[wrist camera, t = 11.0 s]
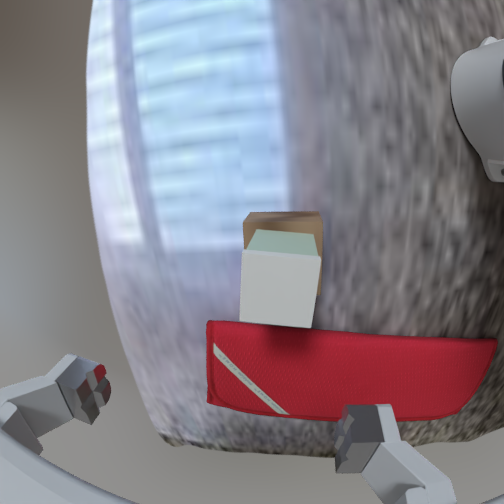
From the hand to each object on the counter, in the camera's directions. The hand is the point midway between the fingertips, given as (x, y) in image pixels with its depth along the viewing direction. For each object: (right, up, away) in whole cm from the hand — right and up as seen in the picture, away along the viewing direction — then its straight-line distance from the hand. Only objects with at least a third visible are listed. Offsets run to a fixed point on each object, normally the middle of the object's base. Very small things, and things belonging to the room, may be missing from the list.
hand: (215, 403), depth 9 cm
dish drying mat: (+16, -12, +28) cm, 34 cm away
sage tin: (+4, +4, +18) cm, 19 cm away
